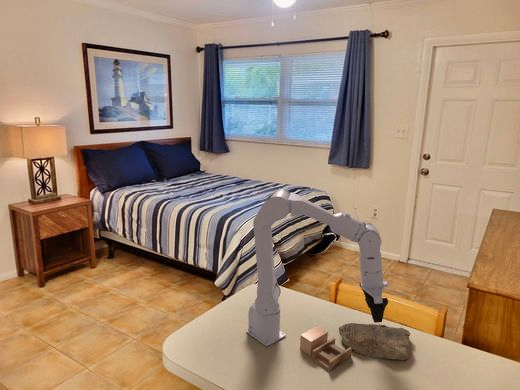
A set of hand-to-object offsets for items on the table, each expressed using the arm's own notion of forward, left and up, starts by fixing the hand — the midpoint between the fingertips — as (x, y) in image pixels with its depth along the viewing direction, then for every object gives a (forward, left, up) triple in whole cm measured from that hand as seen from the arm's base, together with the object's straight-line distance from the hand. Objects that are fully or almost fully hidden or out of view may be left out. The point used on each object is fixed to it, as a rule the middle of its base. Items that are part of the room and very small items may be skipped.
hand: (374, 314), depth 106 cm
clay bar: (-11, -13, -11) cm, 20 cm away
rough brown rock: (-1, +2, -11) cm, 11 cm away
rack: (-4, -13, -11) cm, 17 cm away
